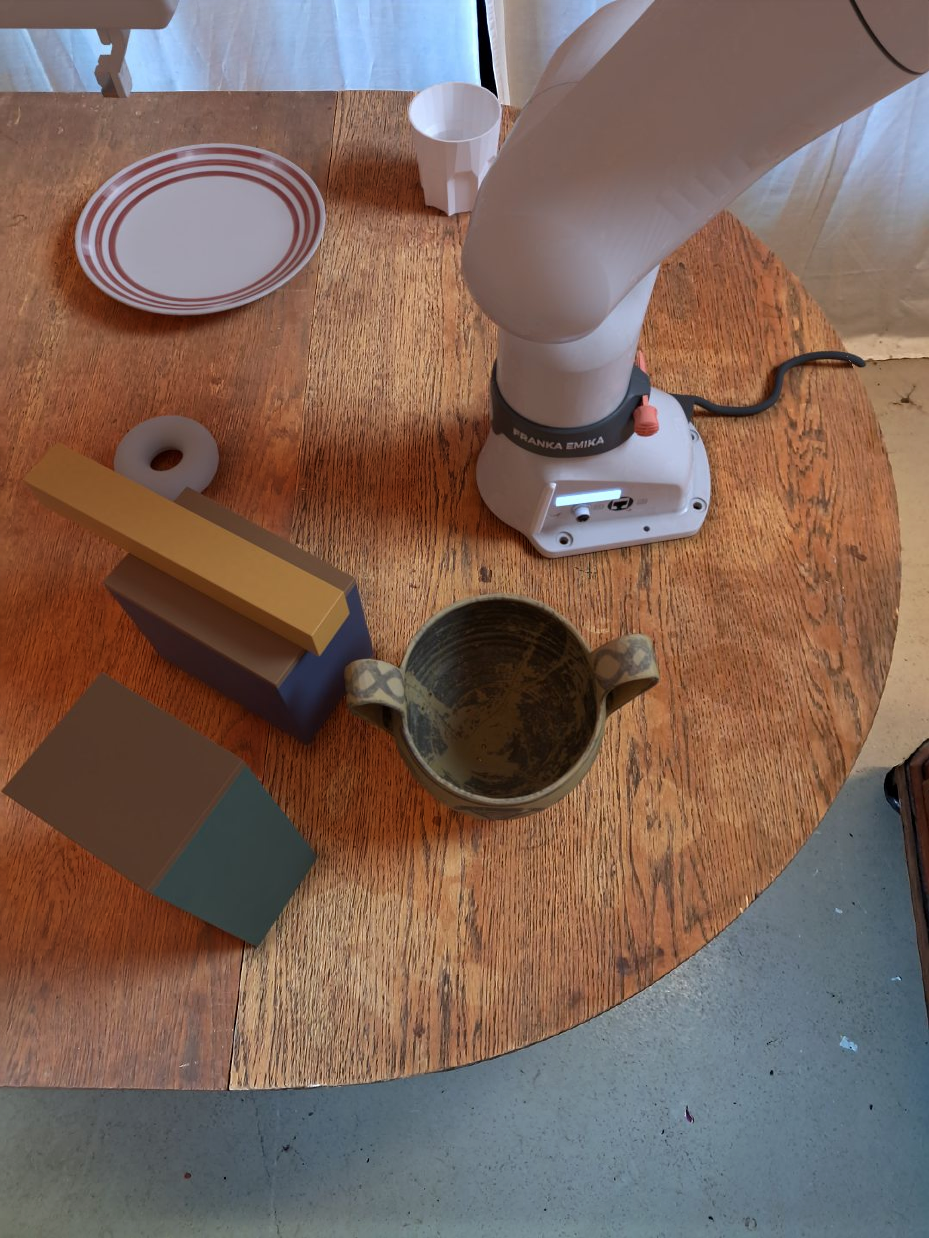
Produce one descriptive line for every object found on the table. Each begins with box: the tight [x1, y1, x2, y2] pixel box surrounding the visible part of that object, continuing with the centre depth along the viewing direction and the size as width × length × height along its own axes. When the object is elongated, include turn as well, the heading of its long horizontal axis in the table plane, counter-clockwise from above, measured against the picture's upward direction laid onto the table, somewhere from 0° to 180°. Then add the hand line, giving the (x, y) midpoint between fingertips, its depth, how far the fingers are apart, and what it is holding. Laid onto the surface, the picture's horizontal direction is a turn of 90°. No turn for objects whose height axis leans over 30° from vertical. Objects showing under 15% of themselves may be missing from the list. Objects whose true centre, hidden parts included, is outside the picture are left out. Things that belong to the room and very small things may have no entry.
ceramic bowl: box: [344, 592, 661, 822], centre depth 69 cm, size 22×17×15 cm
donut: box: [112, 414, 220, 502], centre depth 86 cm, size 10×4×10 cm
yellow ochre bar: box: [21, 441, 349, 656], centre depth 66 cm, size 26×4×4 cm, turn 60°
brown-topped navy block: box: [102, 487, 375, 747], centre depth 73 cm, size 16×10×14 cm, turn 59°
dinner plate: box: [74, 142, 326, 316], centre depth 100 cm, size 27×27×3 cm
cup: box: [407, 80, 503, 217], centre depth 100 cm, size 10×10×10 cm
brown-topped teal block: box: [0, 671, 319, 948], centre depth 59 cm, size 10×8×26 cm
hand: (43, 92), depth 55 cm, fingers open, 8 cm apart
